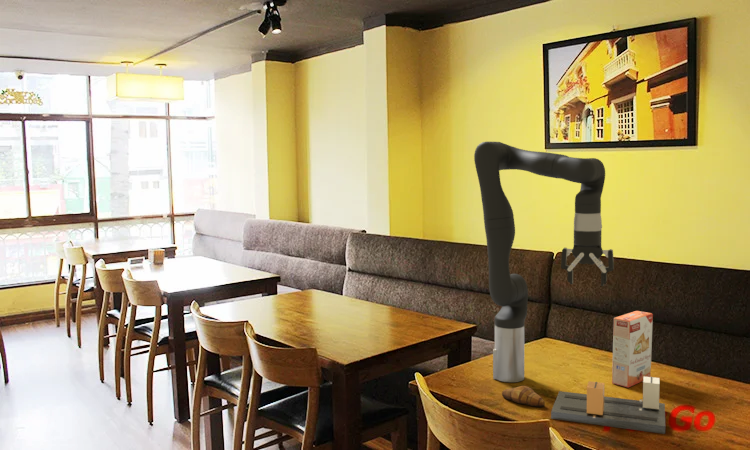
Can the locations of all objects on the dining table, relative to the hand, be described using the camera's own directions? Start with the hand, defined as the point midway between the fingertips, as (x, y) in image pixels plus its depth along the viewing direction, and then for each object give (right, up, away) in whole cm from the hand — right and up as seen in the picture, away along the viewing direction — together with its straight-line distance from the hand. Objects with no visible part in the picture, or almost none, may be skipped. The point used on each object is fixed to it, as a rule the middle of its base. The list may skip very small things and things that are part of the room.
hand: (586, 284), depth 186 cm
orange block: (-2, -32, -13) cm, 35 cm away
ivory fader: (+14, -32, -11) cm, 36 cm away
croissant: (-18, -34, 0) cm, 39 cm away
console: (+2, -34, -10) cm, 36 cm away
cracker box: (+19, -32, +15) cm, 40 cm away
